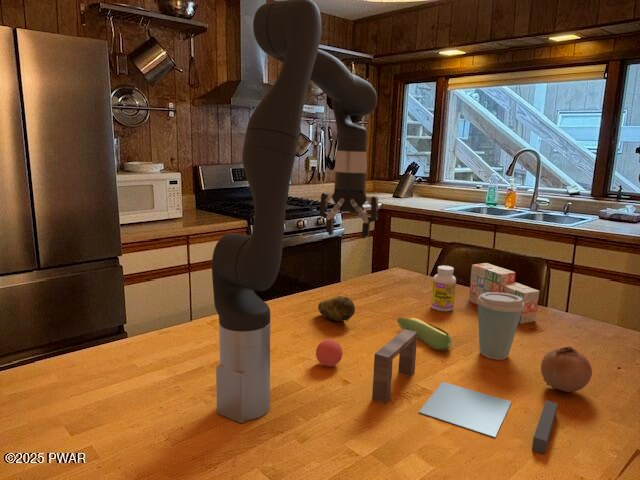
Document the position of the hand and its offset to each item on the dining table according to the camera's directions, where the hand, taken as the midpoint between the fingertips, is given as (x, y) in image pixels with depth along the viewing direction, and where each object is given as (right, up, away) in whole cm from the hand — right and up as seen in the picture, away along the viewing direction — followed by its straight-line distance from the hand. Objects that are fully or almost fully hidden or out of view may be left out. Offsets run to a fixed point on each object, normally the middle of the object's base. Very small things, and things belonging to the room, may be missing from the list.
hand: (347, 236), depth 122 cm
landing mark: (+21, -33, -27) cm, 48 cm away
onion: (+44, -33, -20) cm, 58 cm away
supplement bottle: (+30, -22, +28) cm, 46 cm away
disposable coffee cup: (+35, -29, -3) cm, 46 cm away
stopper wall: (+33, -35, -34) cm, 59 cm away
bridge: (+9, -31, -19) cm, 38 cm away
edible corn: (+20, -27, +6) cm, 34 cm away
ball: (-5, -26, -12) cm, 29 cm away
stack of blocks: (+48, -23, +27) cm, 60 cm away
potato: (-2, -24, +15) cm, 28 cm away
